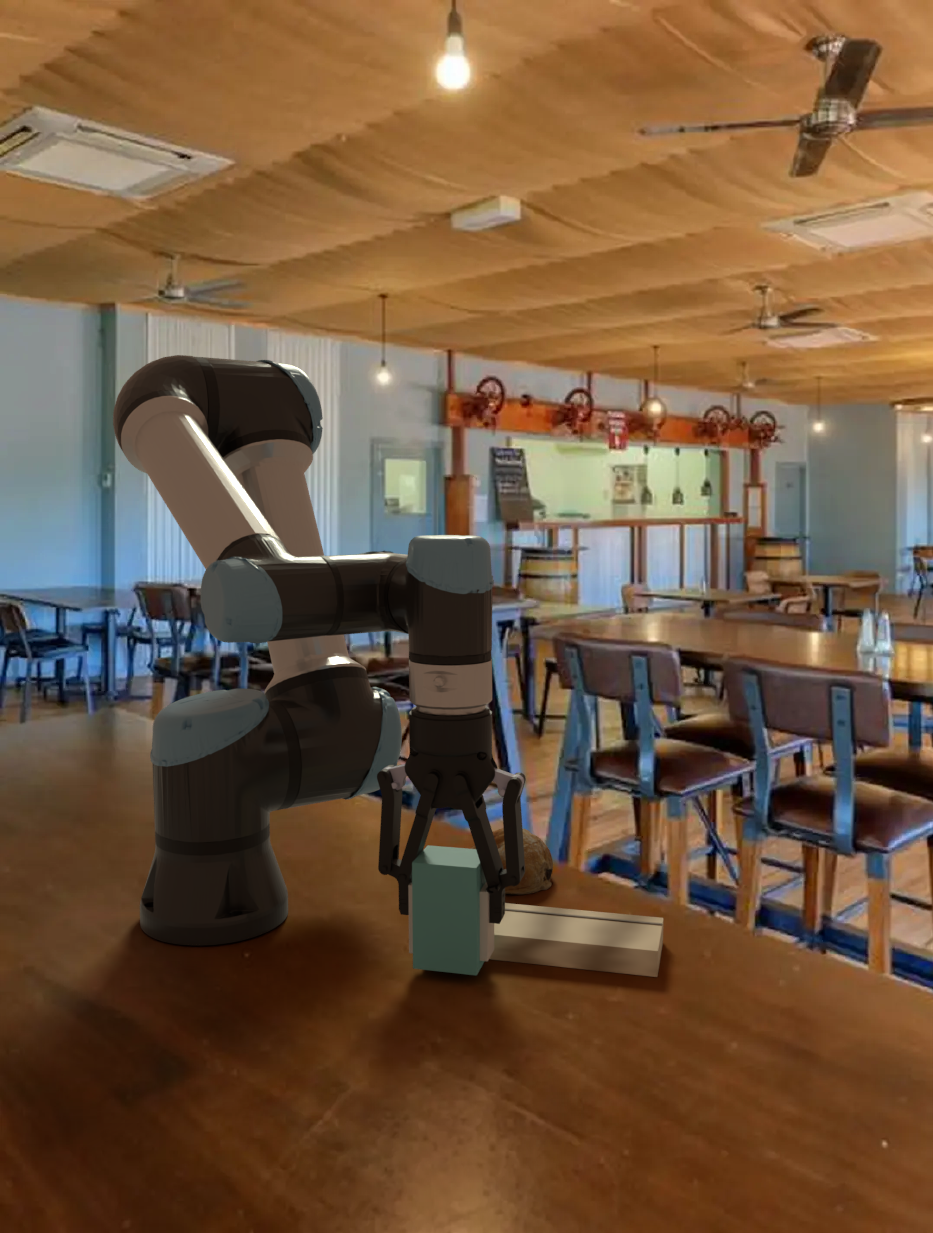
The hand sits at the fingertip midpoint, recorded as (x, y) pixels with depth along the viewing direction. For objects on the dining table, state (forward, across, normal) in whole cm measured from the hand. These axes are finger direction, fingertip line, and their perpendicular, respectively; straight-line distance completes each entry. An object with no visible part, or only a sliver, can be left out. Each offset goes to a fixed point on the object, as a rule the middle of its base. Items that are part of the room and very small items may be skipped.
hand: (451, 950), depth 100 cm
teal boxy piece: (+1, 0, +4) cm, 4 cm away
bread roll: (+2, 0, +24) cm, 25 cm away
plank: (+2, +7, +8) cm, 11 cm away
